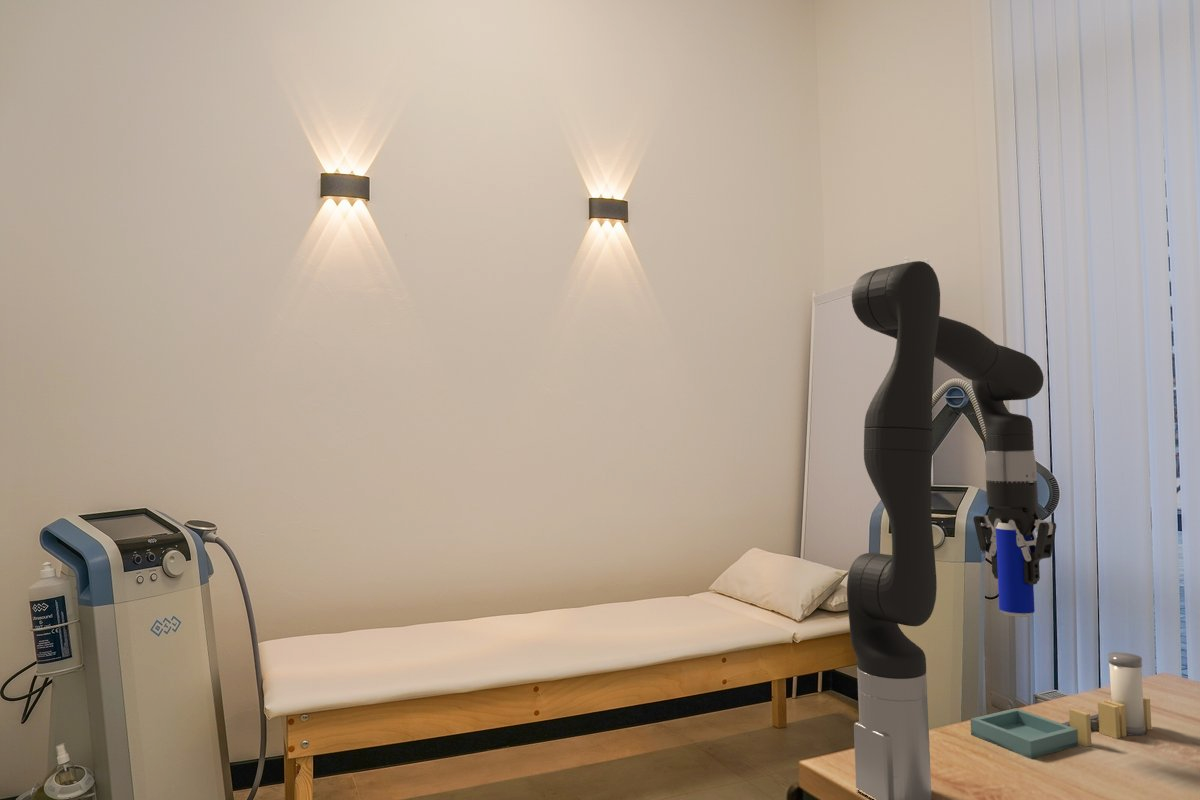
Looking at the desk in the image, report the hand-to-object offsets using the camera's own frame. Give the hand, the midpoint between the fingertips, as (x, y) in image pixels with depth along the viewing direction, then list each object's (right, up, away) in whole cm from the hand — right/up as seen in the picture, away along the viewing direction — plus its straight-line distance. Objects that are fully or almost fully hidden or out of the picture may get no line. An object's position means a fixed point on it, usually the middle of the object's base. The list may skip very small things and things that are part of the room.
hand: (1015, 580), depth 129 cm
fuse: (+20, -26, +2) cm, 33 cm away
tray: (+1, -26, -1) cm, 26 cm away
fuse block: (+15, -26, +1) cm, 30 cm away
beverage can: (0, -6, 0) cm, 6 cm away
